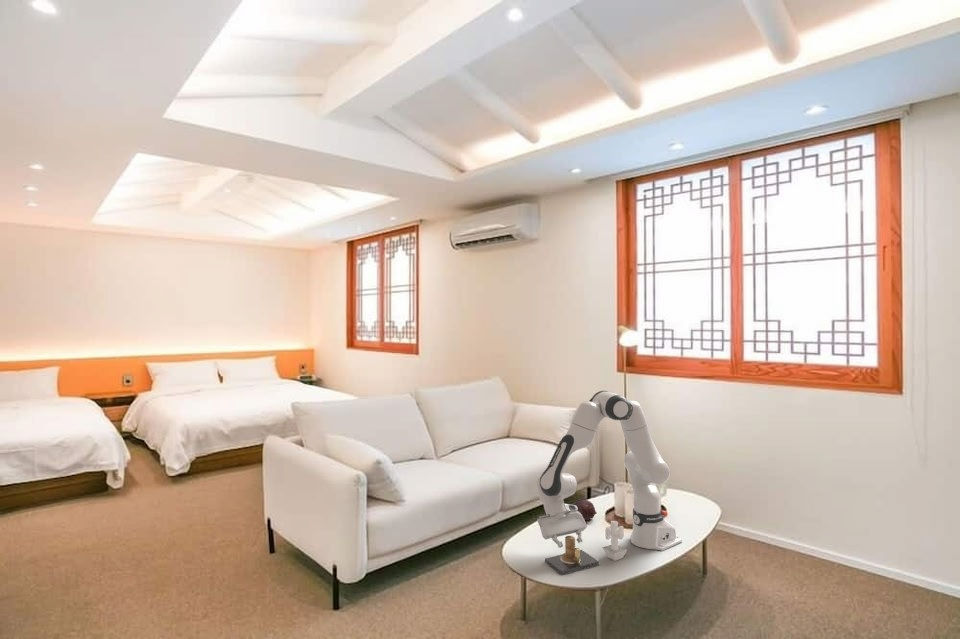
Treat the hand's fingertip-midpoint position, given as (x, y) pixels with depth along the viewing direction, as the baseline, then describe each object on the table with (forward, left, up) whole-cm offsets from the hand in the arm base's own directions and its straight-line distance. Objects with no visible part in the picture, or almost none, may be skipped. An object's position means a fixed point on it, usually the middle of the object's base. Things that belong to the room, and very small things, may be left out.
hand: (570, 544), depth 216 cm
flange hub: (0, -1, -6) cm, 6 cm away
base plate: (0, 0, -8) cm, 8 cm away
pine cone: (-33, -37, -8) cm, 50 cm away
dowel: (0, +4, -6) cm, 8 cm away
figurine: (-19, +4, -8) cm, 21 cm away
